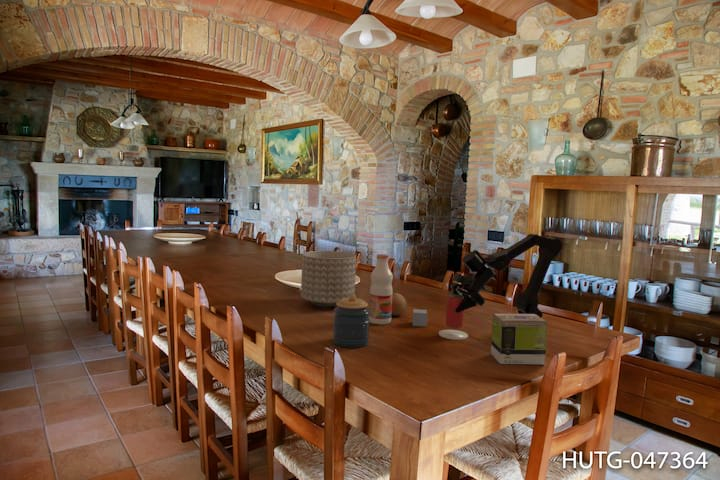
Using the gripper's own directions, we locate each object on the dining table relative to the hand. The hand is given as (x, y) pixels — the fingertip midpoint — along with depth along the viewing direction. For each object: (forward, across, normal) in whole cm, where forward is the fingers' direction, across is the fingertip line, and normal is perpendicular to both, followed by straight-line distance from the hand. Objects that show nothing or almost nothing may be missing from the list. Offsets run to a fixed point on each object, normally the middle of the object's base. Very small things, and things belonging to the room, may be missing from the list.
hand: (451, 309), depth 180 cm
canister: (+35, +2, -21) cm, 41 cm away
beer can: (+4, 0, +6) cm, 7 cm away
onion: (+16, -30, -1) cm, 34 cm away
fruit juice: (+22, -22, -8) cm, 32 cm away
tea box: (0, +28, +15) cm, 32 cm away
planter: (+34, -53, -20) cm, 65 cm away
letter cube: (+12, -16, +3) cm, 20 cm away
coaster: (+6, 0, +8) cm, 10 cm away
